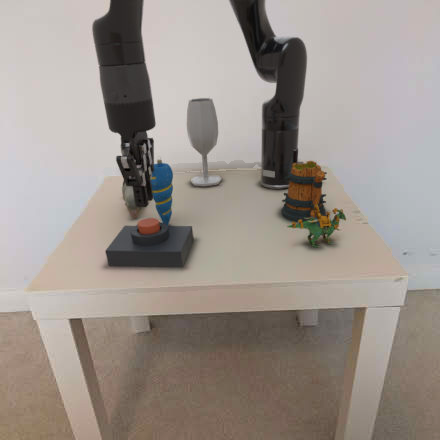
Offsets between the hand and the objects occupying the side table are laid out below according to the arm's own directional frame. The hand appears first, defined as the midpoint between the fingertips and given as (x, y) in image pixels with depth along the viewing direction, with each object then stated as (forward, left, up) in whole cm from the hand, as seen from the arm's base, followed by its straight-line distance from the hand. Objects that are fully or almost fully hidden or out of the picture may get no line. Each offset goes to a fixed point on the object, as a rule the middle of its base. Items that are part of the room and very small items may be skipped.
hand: (145, 202), depth 72 cm
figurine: (-31, -4, -10) cm, 33 cm away
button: (0, 0, -5) cm, 5 cm away
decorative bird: (+11, -24, -10) cm, 28 cm away
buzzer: (0, 0, -10) cm, 10 cm away
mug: (-30, -18, -10) cm, 36 cm away
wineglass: (-4, -42, -10) cm, 43 cm away
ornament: (0, -12, -10) cm, 16 cm away
